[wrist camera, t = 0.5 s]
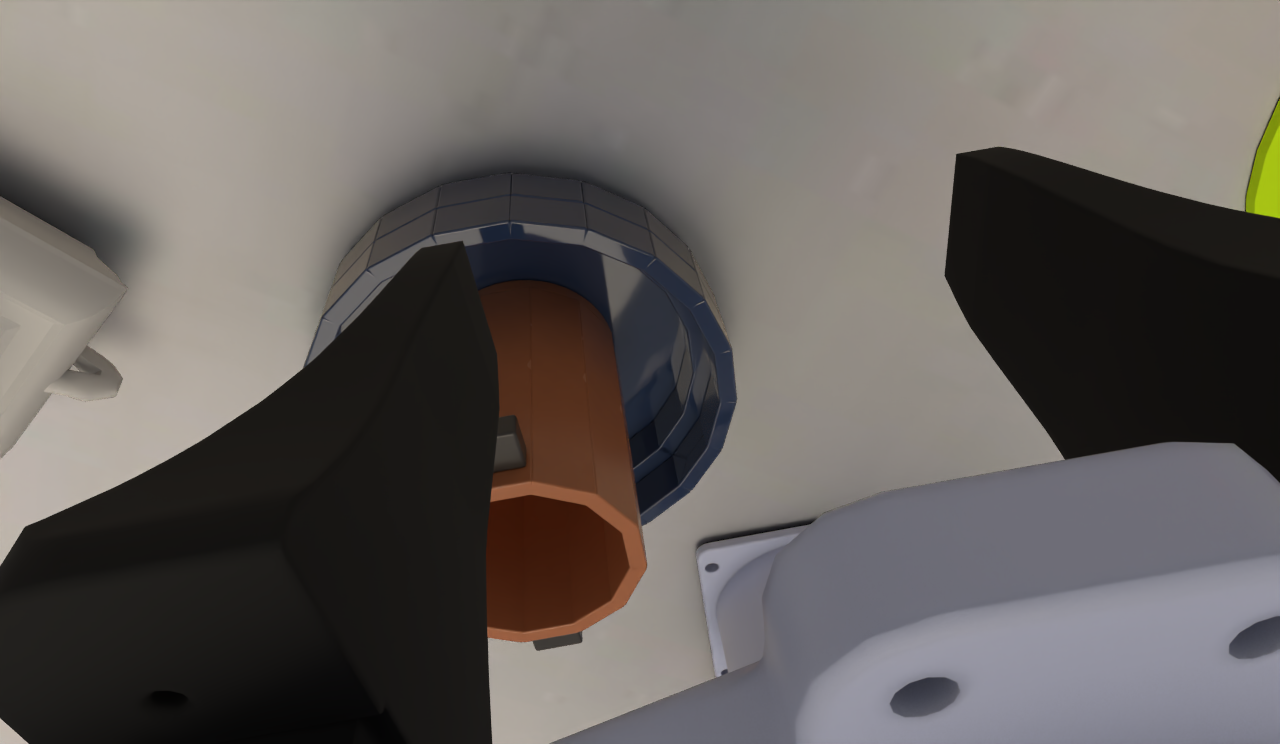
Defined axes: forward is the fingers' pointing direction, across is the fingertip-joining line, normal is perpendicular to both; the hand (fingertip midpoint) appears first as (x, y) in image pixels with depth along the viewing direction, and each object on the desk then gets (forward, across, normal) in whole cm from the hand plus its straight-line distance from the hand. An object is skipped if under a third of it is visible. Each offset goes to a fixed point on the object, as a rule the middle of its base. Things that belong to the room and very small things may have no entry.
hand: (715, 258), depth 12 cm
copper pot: (+10, +5, +8) cm, 13 cm away
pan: (+10, +5, +8) cm, 14 cm away
